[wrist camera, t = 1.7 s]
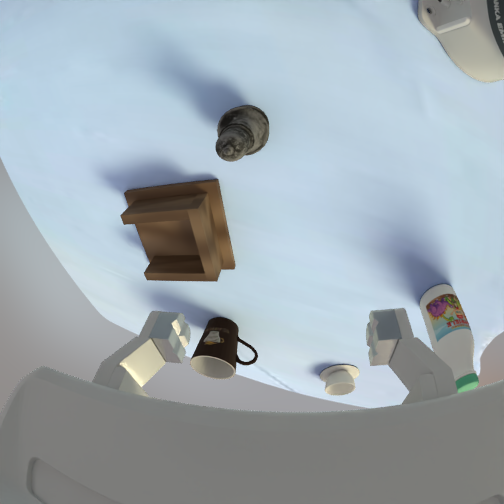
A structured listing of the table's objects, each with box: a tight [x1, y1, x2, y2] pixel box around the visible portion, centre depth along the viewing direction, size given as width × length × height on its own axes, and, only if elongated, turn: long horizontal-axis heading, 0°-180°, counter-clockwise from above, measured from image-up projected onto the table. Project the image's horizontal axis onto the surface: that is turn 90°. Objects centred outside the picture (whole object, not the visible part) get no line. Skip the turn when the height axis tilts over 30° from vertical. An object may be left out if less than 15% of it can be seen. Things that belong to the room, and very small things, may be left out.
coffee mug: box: [190, 317, 258, 379], centre depth 53 cm, size 12×9×10 cm
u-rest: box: [121, 179, 235, 281], centre depth 41 cm, size 15×15×6 cm
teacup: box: [320, 365, 359, 395], centre depth 62 cm, size 10×10×5 cm
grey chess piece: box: [216, 105, 269, 162], centre depth 28 cm, size 6×6×12 cm
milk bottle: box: [420, 284, 479, 393], centre depth 37 cm, size 8×8×20 cm
